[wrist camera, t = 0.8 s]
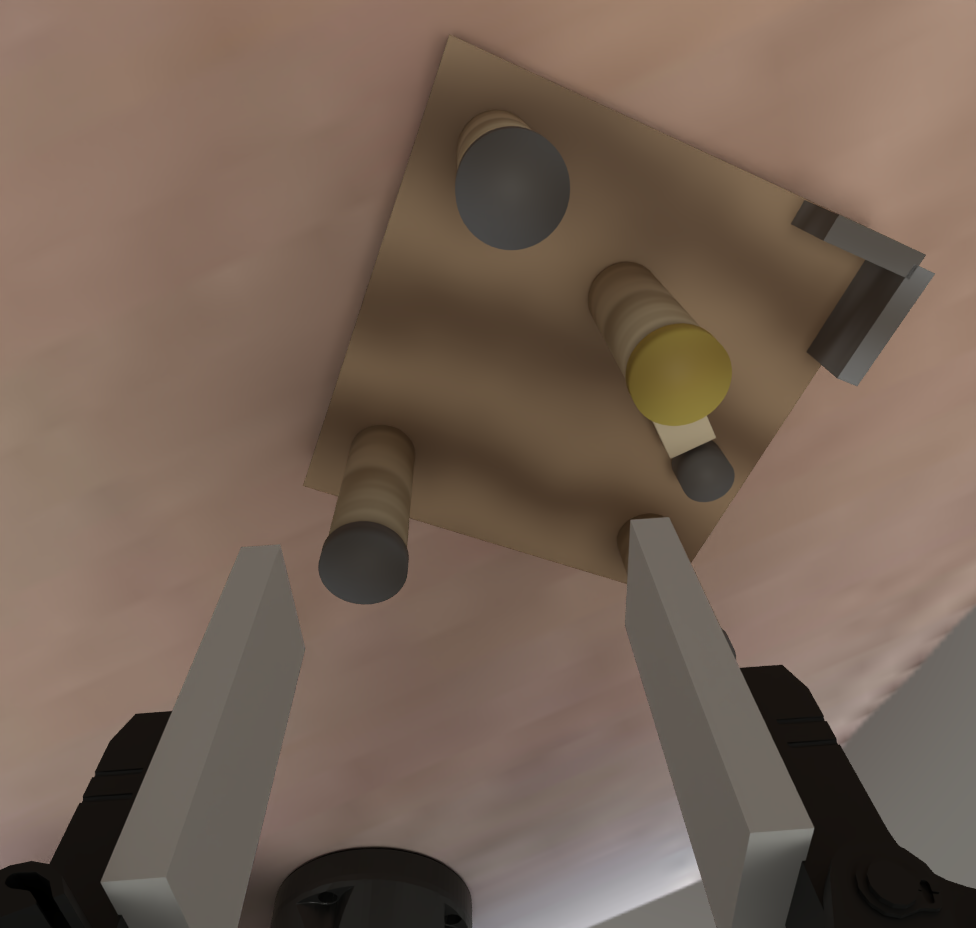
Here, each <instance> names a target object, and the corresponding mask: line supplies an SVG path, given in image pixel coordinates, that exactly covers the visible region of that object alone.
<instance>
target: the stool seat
mask: <svg viewBox="0 0 976 928" xmlns="http://www.w3.org/2000/svg"><path fill="white" fill-rule="evenodd" d="M925 256H926V255H925V254H923V253H921V252H919V251H917V250H914V249H912V248H910V247H908V246H906V245H904V244H901V243H900V242H898V241H895V240H893V239H891V238H889V237H887V236H885V235H882V234H880V233H878V232H876V231H874V230H872V229H870V228H867V227H865V226H863V225H861V224H859V223H857V222H854V221H852V220H850V219H848V218H846V217H844V216H841V215H839V214H837V213H835V212H833V211H831V210H828V209H826V208H824V207H822V206H820V205H818V204H815V203H813V202H811V201H809V200H807V199H805V198H802V197H800V196H798V195H796V194H794V193H792V192H789V191H787V190H785V189H783V188H781V187H779V186H776V185H774V184H772V183H770V182H768V181H766V180H763V179H761V178H759V177H757V176H755V175H753V174H751V173H748V172H746V171H744V170H742V169H740V168H738V167H735V166H733V165H731V164H729V163H727V162H725V161H722V160H720V159H718V158H716V157H714V156H712V155H709V154H707V153H705V152H703V151H701V150H699V149H696V148H694V147H692V146H690V145H688V144H686V143H683V142H681V141H679V140H677V139H675V138H673V137H670V136H668V135H666V134H664V133H662V132H660V131H657V130H655V129H653V128H651V127H649V126H647V125H644V124H642V123H640V122H638V121H636V120H634V119H631V118H629V117H627V116H625V115H623V114H621V113H619V112H616V111H614V110H612V109H610V108H608V107H606V106H603V105H601V104H599V103H597V102H595V101H593V100H590V99H588V98H586V97H584V96H582V95H580V94H577V93H575V92H573V91H571V90H569V89H567V88H564V87H562V86H560V85H558V84H556V83H554V82H551V81H549V80H547V79H545V78H543V77H541V76H538V75H536V74H534V73H532V72H530V71H528V70H525V69H523V68H521V67H519V66H517V65H515V64H512V63H510V62H508V61H506V60H504V59H502V58H500V57H497V56H495V55H493V54H491V53H489V52H487V51H484V50H482V49H480V48H478V47H476V46H474V45H471V44H469V43H467V42H465V41H463V40H461V39H458V38H456V37H454V36H452V35H449V38H448V41H447V44H446V47H445V50H444V53H443V56H442V59H441V62H440V65H439V69H438V72H437V75H436V78H435V81H434V84H433V87H432V90H431V93H430V96H429V99H428V102H427V105H426V109H425V112H424V115H423V118H422V121H421V124H420V127H419V130H418V133H417V136H416V139H415V142H414V146H413V149H412V152H411V155H410V158H409V161H408V164H407V167H406V170H405V173H404V176H403V179H402V183H401V186H400V189H399V192H398V195H397V198H396V201H395V204H394V207H393V210H392V213H391V216H390V219H389V223H388V226H387V229H386V232H385V235H384V238H383V241H382V244H381V247H380V250H379V253H378V256H377V260H376V263H375V266H374V269H373V272H372V275H371V278H370V281H369V284H368V287H367V290H366V293H365V296H364V300H363V303H362V306H361V309H360V312H359V315H358V318H357V321H356V324H355V327H354V330H353V333H352V337H351V340H350V343H349V346H348V349H347V352H346V355H345V358H344V361H343V364H342V367H341V370H340V373H339V377H338V380H337V383H336V386H335V389H334V392H333V395H332V398H331V401H330V404H329V407H328V410H327V414H326V417H325V420H324V423H323V426H322V429H321V432H320V435H319V438H318V441H317V444H316V447H315V451H314V454H313V457H312V460H311V463H310V466H309V469H308V472H307V475H306V478H305V481H304V484H303V486H305V487H308V488H312V489H315V490H318V491H322V492H325V493H328V494H332V495H335V496H338V500H337V504H336V508H335V512H334V516H333V520H332V524H331V528H330V532H329V536H328V537H327V539H326V540H325V543H324V545H323V548H322V552H321V556H320V560H319V567H318V568H319V575H320V578H321V580H322V582H323V584H324V585H325V587H326V588H327V589H328V590H329V591H330V592H331V593H333V594H334V595H335V596H337V597H339V598H340V599H343V600H345V601H348V602H351V603H356V604H374V603H379V602H382V601H385V600H387V599H389V598H391V597H393V596H394V595H395V594H397V593H398V592H399V591H400V589H401V588H402V587H403V585H404V583H405V581H406V578H407V572H408V560H409V555H408V550H407V541H408V529H409V518H411V519H414V520H418V521H421V522H424V523H427V524H431V525H434V526H437V527H441V528H444V529H447V530H451V531H454V532H457V533H460V534H464V535H467V536H470V537H474V538H477V539H480V540H484V541H487V542H490V543H494V544H497V545H500V546H503V547H507V548H510V549H513V550H517V551H520V552H523V553H527V554H530V555H533V556H536V557H540V558H543V559H546V560H550V561H553V562H556V563H560V564H563V565H566V566H570V567H573V568H576V569H579V570H583V571H586V572H589V573H593V574H596V575H599V576H603V577H606V578H609V579H612V580H616V581H619V582H622V583H626V584H627V577H628V557H629V538H630V520H635V519H649V518H663V517H669V518H670V520H671V523H672V525H673V527H674V529H675V531H676V533H677V535H678V537H679V540H680V542H681V544H682V546H683V548H684V550H685V552H686V555H687V557H688V559H689V561H690V563H691V562H692V561H693V559H694V558H695V556H696V555H697V553H698V552H699V550H700V548H701V547H702V545H703V544H704V542H705V541H706V539H707V538H708V536H709V535H710V533H711V532H712V530H713V529H714V527H715V526H716V524H717V523H718V521H719V520H720V518H721V517H722V515H723V513H724V512H725V510H726V509H727V507H728V506H729V504H730V503H731V501H732V500H733V498H734V497H735V495H736V494H737V492H738V491H739V489H740V488H741V486H742V485H743V483H744V482H745V480H746V479H747V477H748V475H749V474H750V472H751V471H752V469H753V468H754V466H755V465H756V463H757V462H758V460H759V459H760V457H761V456H762V454H763V453H764V451H765V450H766V448H767V447H768V445H769V444H770V442H771V441H772V439H773V437H774V436H775V434H776V433H777V431H778V430H779V428H780V427H781V425H782V424H783V422H784V421H785V419H786V418H787V416H788V415H789V413H790V412H791V410H792V409H793V407H794V406H795V404H796V402H797V401H798V399H799V398H800V396H801V395H802V393H803V392H804V390H805V389H806V387H807V386H808V384H809V383H810V381H811V380H812V378H813V377H814V375H815V374H816V372H817V371H818V369H819V368H820V366H821V365H822V366H823V367H825V368H826V369H827V370H828V371H829V372H831V373H832V374H833V375H834V376H835V377H836V378H838V379H840V380H843V381H845V382H848V383H850V384H853V385H855V386H858V384H859V383H860V381H861V380H862V379H863V377H864V376H865V374H866V373H867V371H868V370H869V368H870V367H871V366H872V364H873V363H874V361H875V360H876V358H877V357H878V355H879V354H880V353H881V351H882V350H883V348H884V347H885V345H886V344H887V342H888V341H889V340H890V338H891V337H892V335H893V334H894V332H895V331H896V329H897V328H898V327H899V325H900V324H901V322H902V321H903V319H904V318H905V316H906V315H907V314H908V312H909V311H910V309H911V308H912V306H913V305H914V303H915V302H916V301H917V299H918V298H919V296H920V295H921V293H922V292H923V290H924V289H925V288H926V286H927V285H928V283H929V282H930V280H931V279H932V277H933V276H934V275H935V273H933V272H931V271H928V270H926V269H924V268H922V267H920V266H919V265H920V263H921V262H922V260H923V259H924V257H925ZM622 262H633V263H637V264H640V265H642V266H644V267H646V268H647V269H648V270H650V271H651V273H652V274H653V275H654V276H655V277H656V278H657V279H658V280H659V281H660V282H661V284H662V285H663V286H664V287H665V288H666V289H667V290H668V291H669V292H670V294H671V295H672V296H673V297H674V298H675V299H676V300H677V301H678V302H679V304H680V305H681V306H682V307H683V308H684V309H685V310H686V311H687V312H688V313H689V315H690V316H691V317H692V318H693V319H694V320H695V321H696V322H697V323H698V325H699V326H700V327H701V328H703V329H705V330H707V331H708V332H709V333H711V334H712V335H713V336H714V337H715V338H716V340H717V341H718V342H719V343H720V344H721V345H722V346H723V347H724V349H725V350H726V352H727V353H728V356H729V358H730V361H731V366H732V378H731V383H730V387H729V389H728V392H727V394H726V396H725V397H724V399H723V400H722V402H721V403H720V404H719V405H718V406H717V408H716V409H715V410H713V411H712V412H711V413H710V414H708V415H707V418H708V420H709V422H710V425H711V427H712V429H713V432H714V434H715V436H716V438H715V439H713V440H711V441H713V442H715V443H716V444H717V445H718V446H719V448H720V449H721V451H722V452H723V454H724V455H725V457H726V458H727V460H728V461H729V462H730V464H731V465H732V467H733V469H734V473H735V478H734V482H733V485H732V487H731V488H730V490H729V491H728V492H727V493H726V494H725V495H724V496H722V497H721V498H719V499H717V500H714V501H711V502H697V501H694V500H692V499H690V498H689V497H688V496H687V495H686V494H685V493H684V491H683V489H682V487H681V485H680V483H679V481H678V480H677V478H676V476H675V474H674V472H673V470H672V458H671V459H670V457H669V455H668V453H667V451H666V450H665V448H664V446H663V444H662V441H661V439H660V437H659V435H658V433H657V431H656V429H655V427H654V424H653V422H652V421H651V420H649V419H648V418H647V417H645V416H644V415H643V414H642V413H641V412H640V411H639V410H638V408H637V407H636V405H635V403H634V401H633V399H632V397H631V395H630V394H629V391H628V389H627V385H626V379H625V377H624V376H623V374H622V372H621V370H620V368H619V366H618V364H617V362H616V361H615V359H614V357H613V355H612V353H611V351H610V349H609V347H608V345H607V344H606V342H605V340H604V338H603V336H602V334H601V332H600V330H599V328H598V327H597V325H596V323H595V321H594V319H593V317H592V315H591V313H590V310H589V305H588V296H589V291H590V288H591V286H592V284H593V282H594V280H595V279H596V278H597V276H598V275H599V274H600V273H601V272H602V271H604V270H605V269H606V268H608V267H610V266H612V265H614V264H617V263H622ZM693 570H694V569H693ZM694 572H695V571H694ZM695 574H696V573H695ZM696 576H697V575H696ZM697 578H698V577H697ZM700 585H701V584H700ZM701 587H702V586H701ZM702 589H703V588H702ZM703 591H704V590H703ZM704 593H705V592H704ZM705 595H706V594H705ZM707 600H708V599H707ZM708 602H709V601H708ZM709 604H710V603H709ZM710 606H711V605H710ZM711 608H712V607H711ZM712 610H713V609H712ZM715 617H716V616H715ZM716 619H717V618H716ZM717 621H718V620H717ZM718 623H719V622H718ZM719 625H720V624H719ZM721 629H722V628H721ZM722 632H723V634H724V636H725V638H726V640H727V642H728V644H729V647H730V649H731V651H732V653H733V655H734V657H735V659H736V654H735V651H734V648H733V646H732V644H731V642H730V640H729V638H728V636H727V634H726V632H725V631H724V630H723V629H722Z"/></svg>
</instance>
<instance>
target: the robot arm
mask: <svg viewBox="0 0 976 928" xmlns="http://www.w3.org/2000/svg"><path fill="white" fill-rule="evenodd" d="M625 627H626V630H627V634H628V637H629V640H630V644H631V647H632V650H633V653H634V657H635V660H636V663H637V667H638V670H639V673H640V677H641V680H642V683H643V686H644V690H645V693H646V696H647V700H648V703H649V706H650V710H651V713H652V716H653V719H654V723H655V726H656V729H657V733H658V736H659V739H660V743H661V746H662V749H663V752H664V756H665V759H666V762H667V766H668V769H669V772H670V776H671V779H672V782H673V785H674V789H675V792H676V795H677V799H678V802H679V805H680V808H681V812H682V815H683V818H684V822H685V825H686V828H687V832H688V835H689V838H690V841H691V845H692V848H693V851H694V855H695V858H696V861H697V865H698V868H699V871H700V874H701V878H702V881H703V884H704V888H705V891H706V894H707V897H708V901H709V904H710V907H711V911H712V914H713V917H714V921H715V924H716V927H717V928H976V889H974V888H970V887H966V886H963V885H960V884H957V883H954V882H951V881H948V880H945V879H944V878H942V877H940V876H938V875H936V874H934V873H933V872H932V870H930V868H929V867H928V866H927V865H926V863H924V862H923V861H921V860H920V859H918V858H917V857H915V856H914V855H913V854H911V853H910V852H909V851H907V850H906V849H904V848H902V847H900V846H899V845H898V844H897V843H896V841H895V840H894V839H893V837H892V836H891V834H890V833H889V831H888V830H887V828H886V826H885V824H884V823H883V821H882V819H881V817H880V816H879V814H878V812H877V810H876V808H875V807H874V805H873V803H872V801H871V799H870V798H869V796H868V794H867V792H866V791H865V789H864V787H863V785H862V784H861V782H860V780H859V778H858V776H857V775H856V773H855V771H854V769H853V767H852V765H851V764H850V762H849V760H848V758H847V757H846V755H845V753H844V751H843V749H842V748H841V746H840V745H838V744H837V741H836V737H835V735H834V733H833V732H832V730H831V728H830V726H829V724H828V723H827V721H824V716H823V714H822V712H821V710H820V708H819V707H818V705H817V703H816V701H815V699H814V698H813V696H812V694H811V692H810V691H809V689H808V687H806V686H805V685H804V684H803V683H802V682H801V681H800V680H799V679H797V678H796V677H795V676H794V675H793V674H792V673H791V672H790V671H788V670H787V669H786V668H785V667H784V666H783V665H773V666H759V667H746V668H739V666H738V664H737V662H736V659H735V657H734V655H733V653H732V651H731V649H730V647H729V644H728V642H727V640H726V638H725V636H724V634H723V632H722V629H721V627H720V625H719V623H718V621H717V619H716V617H715V614H714V612H713V610H712V608H711V606H710V604H709V602H708V600H707V597H706V595H705V593H704V591H703V589H702V587H701V585H700V582H699V580H698V578H697V576H696V574H695V572H694V570H693V567H692V565H691V563H690V561H689V559H688V557H687V555H686V552H685V550H684V548H683V546H682V544H681V542H680V540H679V537H678V535H677V533H676V531H675V529H674V527H673V525H672V523H671V520H670V518H669V517H663V518H649V519H635V520H630V538H629V557H628V577H627V596H626V616H625ZM304 652H305V645H304V641H303V637H302V633H301V629H300V625H299V620H298V616H297V612H296V608H295V604H294V600H293V595H292V591H291V587H290V583H289V579H288V575H287V570H286V566H285V562H284V558H283V554H282V550H281V546H280V544H279V545H265V546H251V547H241V549H240V551H239V554H238V556H237V558H236V561H235V563H234V566H233V568H232V570H231V573H230V575H229V577H228V580H227V582H226V585H225V587H224V589H223V592H222V594H221V596H220V599H219V601H218V604H217V606H216V608H215V611H214V613H213V615H212V618H211V620H210V623H209V625H208V627H207V630H206V632H205V634H204V637H203V639H202V642H201V644H200V646H199V649H198V651H197V654H196V656H195V658H194V661H193V663H192V665H191V668H190V670H189V673H188V675H187V677H186V680H185V682H184V684H183V687H182V689H181V692H180V694H179V696H178V699H177V701H176V703H175V706H174V708H173V711H168V712H154V713H141V714H135V715H134V716H133V717H132V718H131V719H130V721H129V722H128V723H127V724H126V725H125V726H124V727H123V728H122V729H121V730H120V731H119V732H118V733H117V734H116V735H115V736H114V737H113V738H112V740H111V741H110V742H109V744H108V746H107V748H106V750H105V752H104V754H103V756H102V758H101V760H100V762H99V764H98V767H97V769H96V771H95V777H92V779H91V781H90V783H89V785H88V787H87V789H86V791H85V793H84V795H83V801H82V803H79V805H78V807H77V809H76V811H75V813H74V815H73V817H72V819H71V821H70V823H69V825H68V827H67V829H66V831H65V834H64V836H63V838H62V840H61V842H60V844H59V846H58V848H57V850H56V852H55V854H54V856H53V858H52V860H51V862H50V864H45V863H40V862H34V861H30V862H25V863H20V864H15V865H10V866H8V867H6V868H4V869H2V870H0V928H238V924H239V920H240V915H241V911H242V907H243V903H244V899H245V895H246V891H247V887H248V882H249V878H250V874H251V870H252V866H253V862H254V858H255V854H256V849H257V845H258V841H259V837H260V833H261V829H262V825H263V821H264V816H265V812H266V808H267V804H268V800H269V796H270V792H271V788H272V783H273V779H274V775H275V771H276V767H277V763H278V759H279V755H280V751H281V746H282V742H283V738H284V734H285V730H286V726H287V722H288V718H289V713H290V709H291V705H292V701H293V697H294V693H295V689H296V685H297V680H298V676H299V672H300V668H301V664H302V660H303V656H304ZM270 928H472V902H471V896H470V893H469V891H468V889H467V887H466V885H465V884H464V882H463V881H462V880H461V879H460V878H459V877H458V876H457V875H456V874H455V873H454V872H452V871H451V870H450V869H448V868H447V867H445V866H443V865H442V864H440V863H438V862H436V861H434V860H431V859H429V858H426V857H423V856H420V855H416V854H413V853H408V852H403V851H396V850H387V849H360V850H351V851H345V852H340V853H335V854H331V855H328V856H325V857H322V858H319V859H316V860H314V861H312V862H310V863H308V864H306V865H304V866H302V867H301V868H299V869H298V870H296V871H295V872H294V873H292V874H291V875H290V876H289V877H288V878H287V879H286V880H285V881H284V883H283V884H282V885H281V887H280V889H279V891H278V893H277V896H276V901H275V906H274V911H273V916H272V920H271V927H270Z"/></svg>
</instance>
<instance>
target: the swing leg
mask: <svg viewBox="0 0 976 928" xmlns="http://www.w3.org/2000/svg"><path fill="white" fill-rule="evenodd" d="M588 305H589V310H590V313H591V315H592V317H593V319H594V321H595V323H596V325H597V327H598V328H599V330H600V332H601V334H602V336H603V338H604V340H605V342H606V344H607V345H608V347H609V349H610V351H611V353H612V355H613V357H614V359H615V361H616V362H617V364H618V366H619V368H620V370H621V372H622V374H623V376H624V377H625V379H626V385H627V389H628V391H629V394H630V395H631V397H632V399H633V401H634V403H635V405H636V407H637V408H638V410H639V411H640V412H641V413H642V414H643V415H644V416H645V417H647V418H648V419H649V420H651V421H652V422H653V424H654V427H655V429H656V431H657V433H658V435H659V437H660V439H661V441H662V444H663V446H664V448H665V450H666V451H667V453H668V455H669V457H670V459H671V458H672V470H673V472H674V474H675V476H676V478H677V480H678V481H679V483H680V485H681V487H682V489H683V491H684V493H685V494H686V495H687V496H688V497H689V498H690V499H692V500H694V501H697V502H711V501H714V500H717V499H719V498H721V497H722V496H724V495H725V494H726V493H727V492H728V491H729V490H730V488H731V487H732V485H733V482H734V478H735V473H734V469H733V467H732V465H731V464H730V462H729V461H728V460H727V458H726V457H725V455H724V454H723V452H722V451H721V449H720V448H719V446H718V445H717V444H716V443H715V442H713V441H711V440H713V439H715V438H716V436H715V434H714V432H713V429H712V427H711V425H710V422H709V420H708V418H707V415H708V414H710V413H711V412H712V411H713V410H715V409H716V408H717V406H718V405H719V404H720V403H721V402H722V400H723V399H724V397H725V396H726V394H727V392H728V389H729V387H730V383H731V378H732V366H731V361H730V358H729V356H728V353H727V352H726V350H725V349H724V347H723V346H722V345H721V344H720V343H719V342H718V341H717V340H716V338H715V337H714V336H713V335H712V334H711V333H709V332H708V331H707V330H705V329H703V328H701V327H700V326H699V325H698V323H697V322H696V321H695V320H694V319H693V318H692V317H691V316H690V315H689V313H688V312H687V311H686V310H685V309H684V308H683V307H682V306H681V305H680V304H679V302H678V301H677V300H676V299H675V298H674V297H673V296H672V295H671V294H670V292H669V291H668V290H667V289H666V288H665V287H664V286H663V285H662V284H661V282H660V281H659V280H658V279H657V278H656V277H655V276H654V275H653V274H652V273H651V271H650V270H648V269H647V268H646V267H644V266H642V265H640V264H637V263H633V262H622V263H617V264H614V265H612V266H610V267H608V268H606V269H605V270H604V271H602V272H601V273H600V274H599V275H598V276H597V278H596V279H595V280H594V282H593V284H592V286H591V288H590V291H589V296H588Z"/></svg>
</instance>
